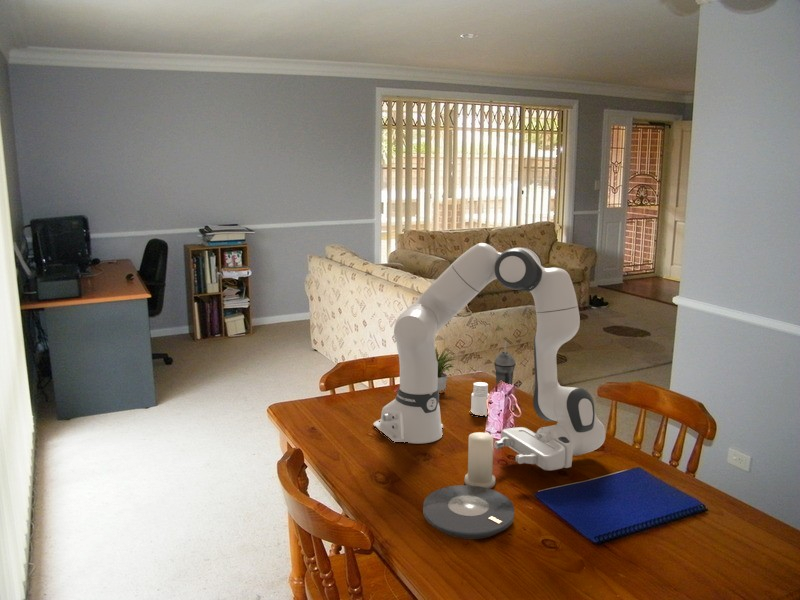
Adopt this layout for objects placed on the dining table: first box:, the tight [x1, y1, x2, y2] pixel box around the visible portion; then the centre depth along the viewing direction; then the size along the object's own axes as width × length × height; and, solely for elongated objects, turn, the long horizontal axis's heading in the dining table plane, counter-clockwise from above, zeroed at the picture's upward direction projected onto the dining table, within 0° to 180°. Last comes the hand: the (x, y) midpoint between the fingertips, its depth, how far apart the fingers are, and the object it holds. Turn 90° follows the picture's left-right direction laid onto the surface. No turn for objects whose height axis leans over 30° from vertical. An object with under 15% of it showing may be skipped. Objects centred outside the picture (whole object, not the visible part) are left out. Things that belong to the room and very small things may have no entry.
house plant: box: [435, 347, 459, 391], centre depth 228 cm, size 14×14×16 cm
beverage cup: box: [493, 340, 516, 386], centre depth 224 cm, size 7×7×20 cm
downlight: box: [470, 381, 490, 417], centre depth 208 cm, size 8×7×10 cm
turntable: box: [422, 484, 515, 537], centre depth 143 cm, size 20×20×2 cm
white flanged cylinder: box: [464, 431, 496, 489], centre depth 160 cm, size 8×8×12 cm
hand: (506, 452), depth 164 cm, fingers open, 8 cm apart
